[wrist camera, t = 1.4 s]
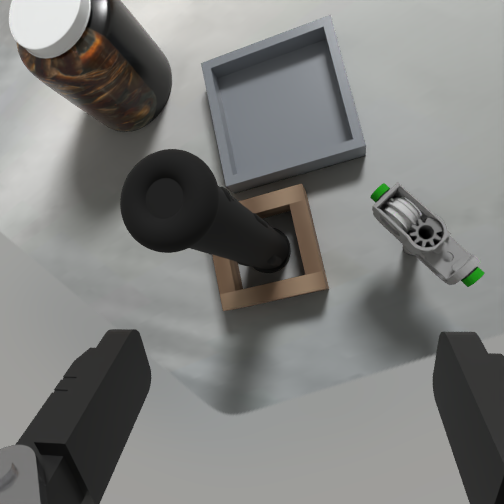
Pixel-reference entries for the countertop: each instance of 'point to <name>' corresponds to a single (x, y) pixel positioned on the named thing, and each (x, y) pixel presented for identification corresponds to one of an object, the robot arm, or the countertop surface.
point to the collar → (308, 245)
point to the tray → (283, 107)
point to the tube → (196, 213)
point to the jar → (93, 58)
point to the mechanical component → (424, 235)
